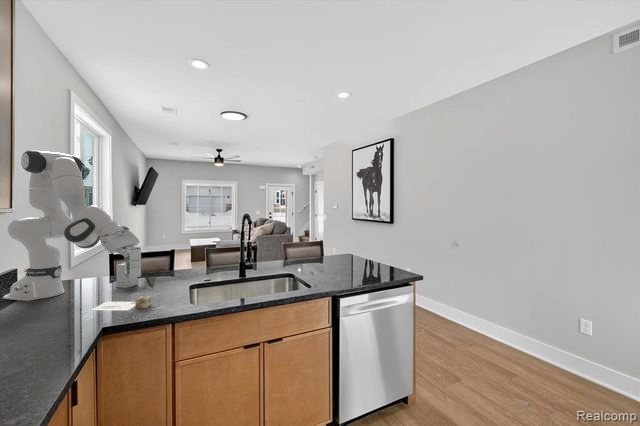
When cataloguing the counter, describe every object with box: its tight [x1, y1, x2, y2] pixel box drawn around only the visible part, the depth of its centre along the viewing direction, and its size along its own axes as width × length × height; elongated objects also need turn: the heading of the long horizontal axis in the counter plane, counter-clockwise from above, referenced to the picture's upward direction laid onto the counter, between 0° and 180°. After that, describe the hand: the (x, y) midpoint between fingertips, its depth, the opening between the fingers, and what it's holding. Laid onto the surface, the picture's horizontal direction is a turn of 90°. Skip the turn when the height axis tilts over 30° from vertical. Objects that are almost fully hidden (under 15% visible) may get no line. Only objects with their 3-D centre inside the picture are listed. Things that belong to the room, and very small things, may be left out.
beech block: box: [135, 295, 152, 309], centre depth 130 cm, size 4×4×4 cm
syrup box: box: [123, 244, 142, 278], centre depth 135 cm, size 6×6×14 cm
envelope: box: [90, 301, 136, 311], centre depth 130 cm, size 16×11×1 cm
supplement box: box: [115, 262, 139, 289], centre depth 161 cm, size 7×7×13 cm
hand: (133, 254), depth 135 cm, fingers closed on syrup box, 8 cm apart
